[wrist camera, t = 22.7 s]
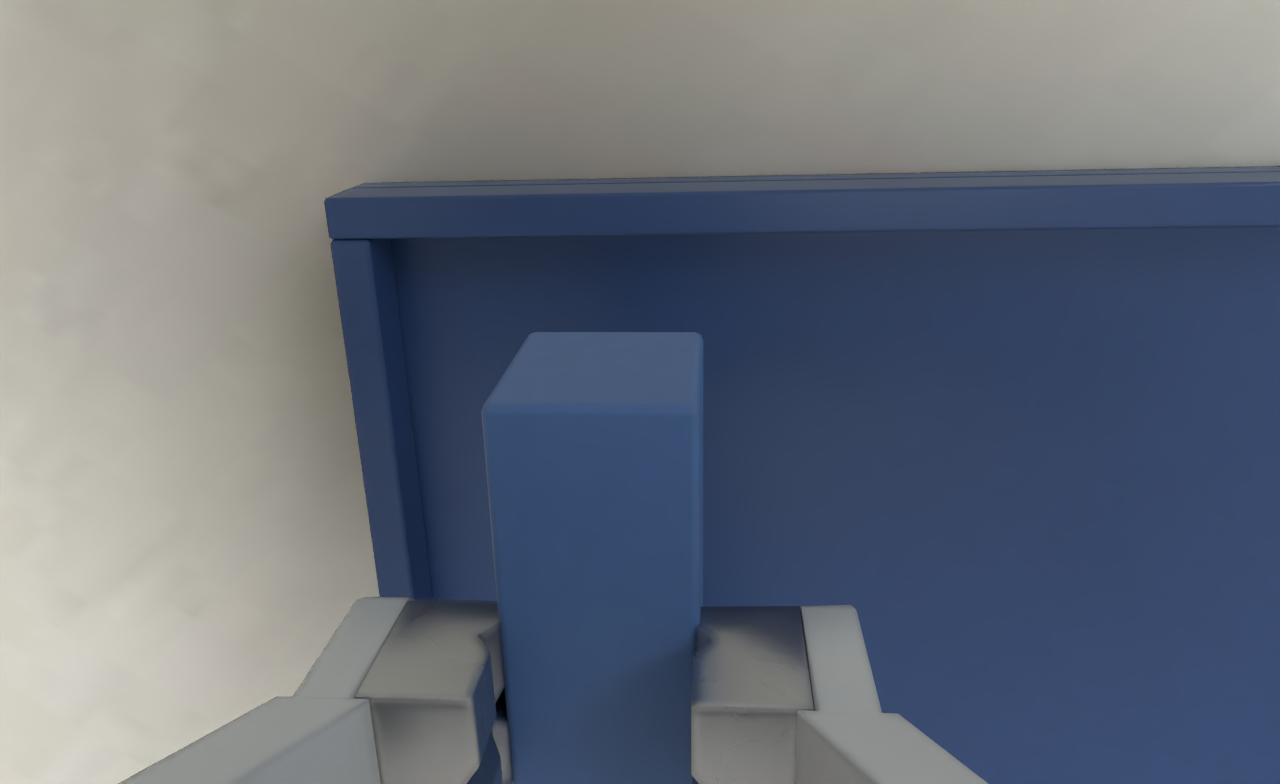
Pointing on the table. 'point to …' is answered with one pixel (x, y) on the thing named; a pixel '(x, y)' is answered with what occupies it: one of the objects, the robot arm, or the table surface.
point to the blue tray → (895, 426)
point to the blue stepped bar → (598, 552)
